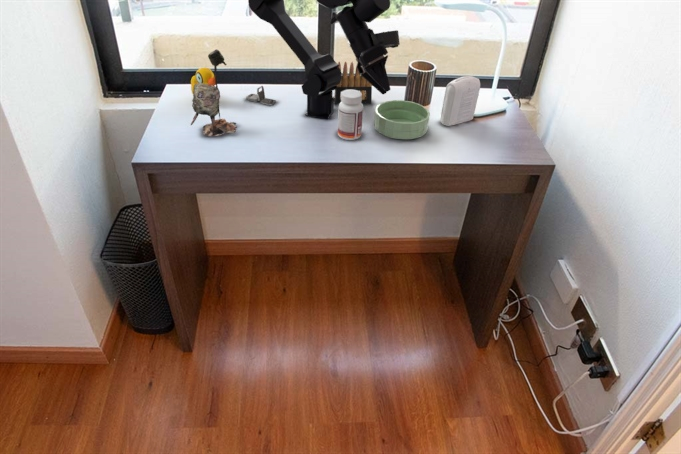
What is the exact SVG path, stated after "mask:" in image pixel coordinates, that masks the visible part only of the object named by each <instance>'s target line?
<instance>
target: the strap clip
mask: <svg viewBox="0 0 681 454" xmlns="http://www.w3.org/2000/svg"><path fill="white" fill-rule="evenodd" d="M260 89H261V90H260ZM246 100H248V101H249V102H254V103H257V102H260V104H263V105H266V106H273V105H274V104H275V103H276V102H277V100H276V99H271V98H268V97H267V98H266V94H265V88H264V86H263V85H260V86H259V87H257V88H256V93H250V94H248V95H247V96H246Z"/></svg>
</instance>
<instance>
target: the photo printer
mask: <svg viewBox="0 0 681 454" xmlns="http://www.w3.org/2000/svg"><path fill="white" fill-rule="evenodd" d="M480 90H481V81H480V79H479V77H476V76H472V75H465V76H461V77H458V78H455V79H453V80H451V81H450V82H448V83H447V85H446V86H445V91H444V96H443V102H442V107H441V113H440V119H439V121H440V123H441V124H442V125H444V126H446V127H450V126H454V125H458V124H462V123H467V122H470V121H472V120H473V119H474V116H475V112H476V107H477V103H478V98H479V93H480Z"/></svg>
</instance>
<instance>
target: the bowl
mask: <svg viewBox="0 0 681 454" xmlns="http://www.w3.org/2000/svg"><path fill="white" fill-rule="evenodd" d="M430 116H431V113H430V111H429V109H428V108H427V107H426V106H424V105H422V104H421V103H417V102H414V101H409V100H403V99H401V100H400V99H396V100H395V99H394V100H385V101H383V102H381V103H379V104H377V105H376V107H375V109H374V120H373V126H374V129H375V130H376V131H377V132H378V133H379V134H381V135H383V136H385V137H387V138H390V139H397V140H413V139H419V138H421V137H423V136H425V135H426V134H427V132H428V128H429V123H430Z"/></svg>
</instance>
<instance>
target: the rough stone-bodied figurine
mask: <svg viewBox="0 0 681 454" xmlns="http://www.w3.org/2000/svg"><path fill="white" fill-rule="evenodd" d="M207 57H208V60H209V62H210V64H211V65H212V66H213V69H214V77H215V83H216V85H214V86H212V85H207V84H203V83H198V84H195V85H194V87H193V94H192V99H191V102H192V104H191V106H192V110H193V111H194V113H195V114H194V116H193V118H192V120H191V122H190V126H193V125H194V123H195V121H197V119H198V116H199V115H203V116H208V117H209V118H210V120H211V123H205V124H203V125H202V133H203V136H204V137H217V136H222V135H223V134H228V133H232V134H235V133H236V132H237V131H236V130H237V128H238V126H237V122H234V121H233V122H231V121H230V122H228V121H227V120H226V119H225V118H221V113H220V112H221V111H220V99H221V91H220V89H219V87H218V78H217V77H218V76H217V74H218V73H217V71H218V68H217V67H218V66H220V65H222V64H223V65H224V66H227V63H226V61H225V57H224V55H223V54H222V53H221V51H220V50H219V49H214V50H213V51H211V52H210V53H208V55H207ZM217 115H218V117H219V119H216V116H217Z"/></svg>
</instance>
